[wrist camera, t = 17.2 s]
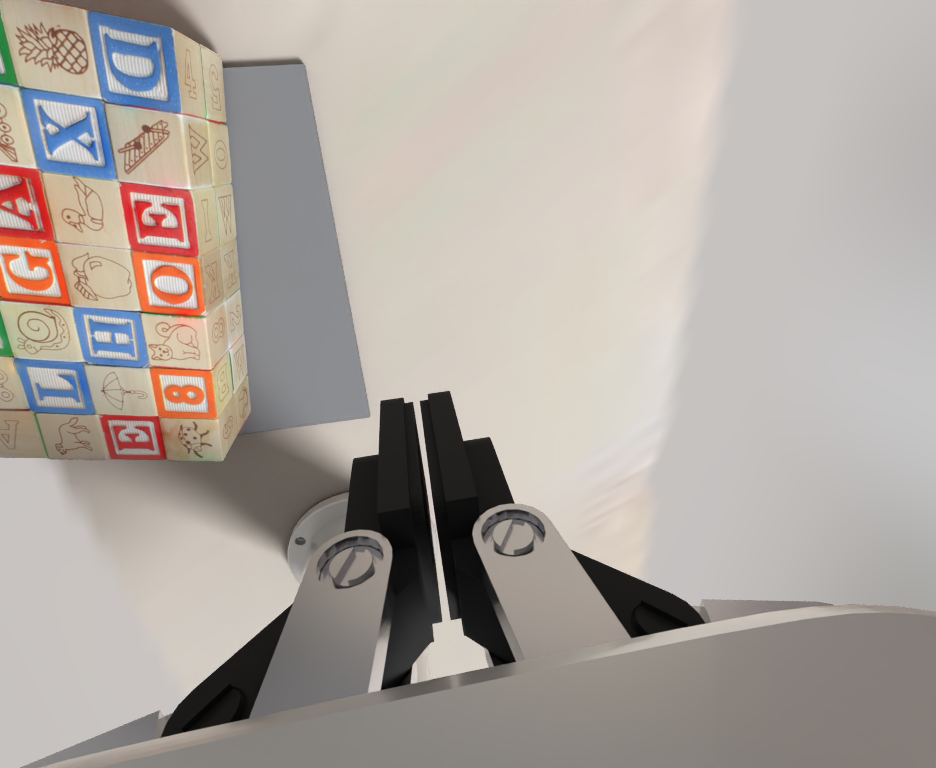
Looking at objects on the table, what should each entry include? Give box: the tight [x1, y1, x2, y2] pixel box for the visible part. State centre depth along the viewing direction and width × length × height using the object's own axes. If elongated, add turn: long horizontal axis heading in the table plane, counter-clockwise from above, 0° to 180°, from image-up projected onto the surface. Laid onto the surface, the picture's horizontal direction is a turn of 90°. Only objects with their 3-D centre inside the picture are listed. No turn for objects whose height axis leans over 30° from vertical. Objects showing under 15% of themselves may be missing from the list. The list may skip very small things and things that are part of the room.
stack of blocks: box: [0, 0, 251, 461], centre depth 24 cm, size 21×6×12 cm
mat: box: [223, 64, 370, 435], centre depth 29 cm, size 22×16×1 cm
